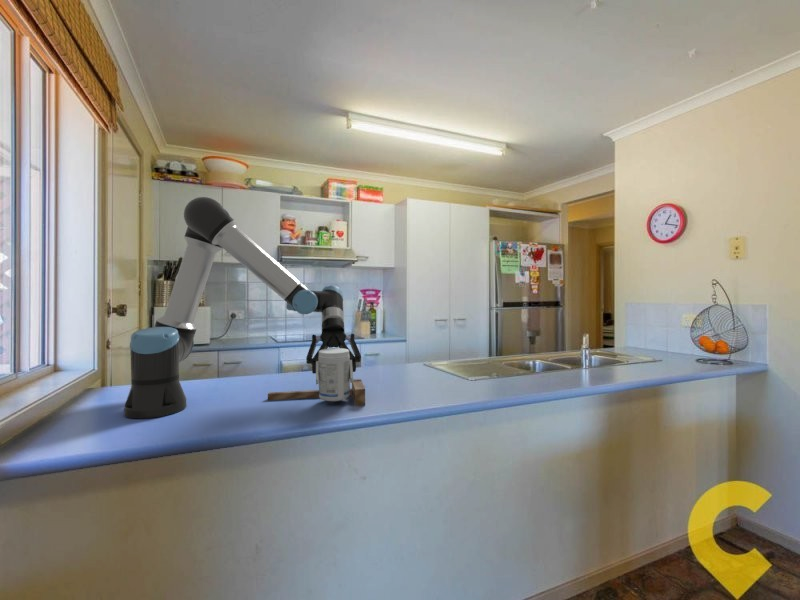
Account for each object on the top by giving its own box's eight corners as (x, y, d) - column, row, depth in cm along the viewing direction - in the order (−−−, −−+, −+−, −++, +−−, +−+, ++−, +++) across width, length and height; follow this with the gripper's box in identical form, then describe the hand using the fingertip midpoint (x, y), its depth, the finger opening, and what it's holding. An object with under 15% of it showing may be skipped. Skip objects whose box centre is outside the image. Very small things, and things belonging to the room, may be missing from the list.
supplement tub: (340, 391, 125) (340, 346, 125) (356, 398, 118) (356, 350, 117) (313, 396, 119) (312, 349, 119) (327, 404, 112) (327, 354, 111)
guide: (262, 411, 110) (262, 394, 109) (268, 398, 122) (268, 383, 122) (366, 405, 115) (366, 388, 115) (362, 393, 128) (362, 379, 128)
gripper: (364, 329, 135) (370, 385, 120) (299, 331, 131) (297, 389, 116) (366, 315, 130) (372, 372, 115) (298, 316, 125) (295, 375, 110)
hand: (334, 381), depth 115 cm, fingers closed on supplement tub, 9 cm apart
